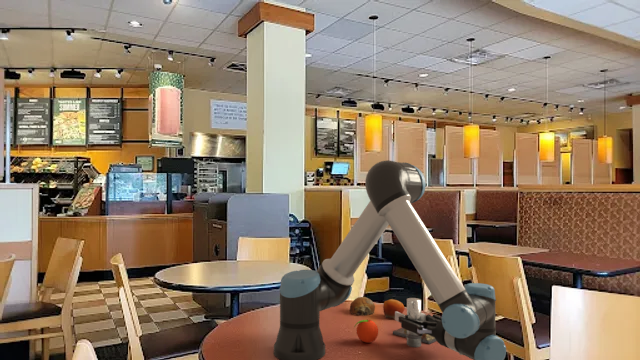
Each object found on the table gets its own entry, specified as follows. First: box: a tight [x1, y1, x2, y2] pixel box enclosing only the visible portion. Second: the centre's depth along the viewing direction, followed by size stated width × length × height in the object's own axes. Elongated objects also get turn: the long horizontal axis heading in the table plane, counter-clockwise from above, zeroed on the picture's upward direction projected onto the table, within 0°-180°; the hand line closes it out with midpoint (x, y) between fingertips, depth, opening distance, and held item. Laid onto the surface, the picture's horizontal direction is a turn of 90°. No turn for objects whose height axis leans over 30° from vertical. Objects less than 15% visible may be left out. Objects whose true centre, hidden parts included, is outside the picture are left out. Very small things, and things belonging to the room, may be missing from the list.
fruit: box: [382, 298, 405, 320], centre depth 169 cm, size 8×8×8 cm
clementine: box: [353, 319, 379, 344], centre depth 140 cm, size 8×7×7 cm
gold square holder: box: [392, 327, 437, 345], centre depth 149 cm, size 14×14×5 cm
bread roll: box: [349, 296, 376, 317], centre depth 177 cm, size 10×10×8 cm
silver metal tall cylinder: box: [406, 297, 422, 348], centre depth 138 cm, size 5×5×14 cm
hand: (404, 314), depth 143 cm, fingers open, 6 cm apart
